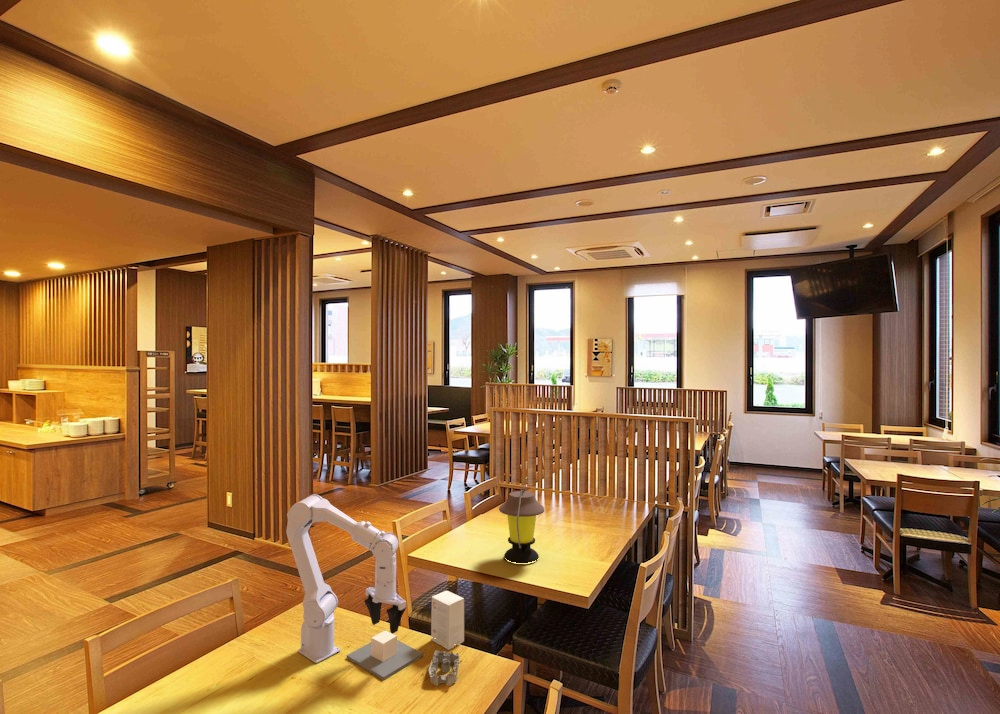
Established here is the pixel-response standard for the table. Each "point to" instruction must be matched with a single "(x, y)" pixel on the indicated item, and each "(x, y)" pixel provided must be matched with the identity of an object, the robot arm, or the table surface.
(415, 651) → the mat
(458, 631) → the small box
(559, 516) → the table surface
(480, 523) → the table surface
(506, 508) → the lantern
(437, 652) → the egg carton
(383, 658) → the cube
